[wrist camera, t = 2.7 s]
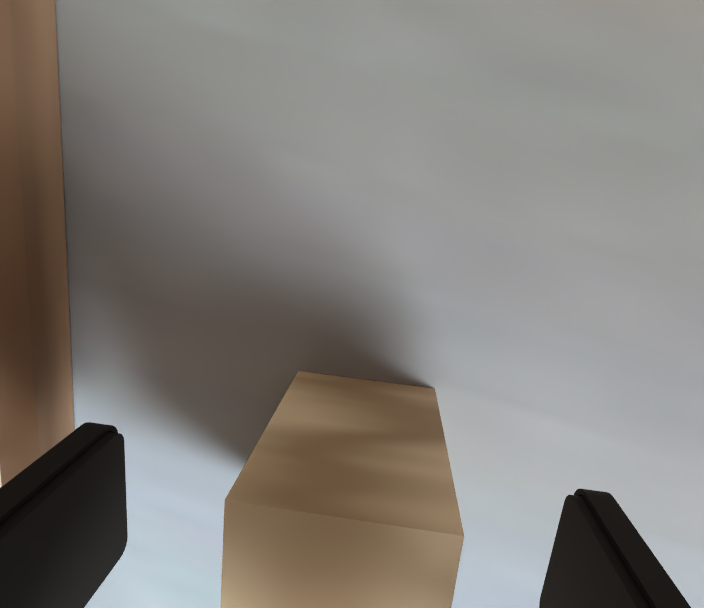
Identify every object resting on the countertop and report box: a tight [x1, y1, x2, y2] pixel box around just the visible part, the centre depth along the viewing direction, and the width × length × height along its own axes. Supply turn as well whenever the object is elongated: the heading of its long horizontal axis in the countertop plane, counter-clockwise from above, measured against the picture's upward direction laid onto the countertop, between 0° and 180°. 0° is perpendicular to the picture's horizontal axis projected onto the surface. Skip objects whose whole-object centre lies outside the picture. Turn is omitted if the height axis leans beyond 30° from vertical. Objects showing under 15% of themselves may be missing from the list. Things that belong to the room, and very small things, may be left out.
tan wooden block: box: [221, 371, 464, 608], centre depth 11 cm, size 4×4×6 cm
